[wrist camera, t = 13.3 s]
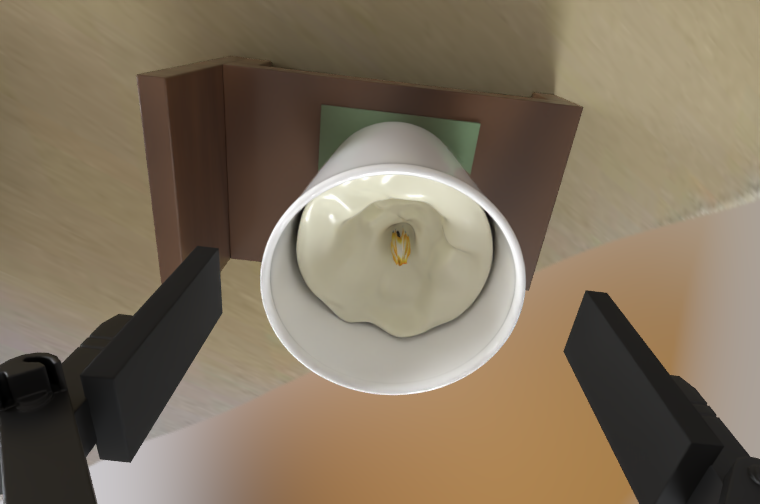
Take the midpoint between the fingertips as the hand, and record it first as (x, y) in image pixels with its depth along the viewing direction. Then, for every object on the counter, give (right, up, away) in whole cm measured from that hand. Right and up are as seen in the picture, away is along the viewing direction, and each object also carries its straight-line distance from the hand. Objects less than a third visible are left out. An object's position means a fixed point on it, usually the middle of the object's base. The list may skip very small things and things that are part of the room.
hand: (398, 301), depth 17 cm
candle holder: (0, +6, +11) cm, 13 cm away
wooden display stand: (0, +8, +16) cm, 18 cm away
